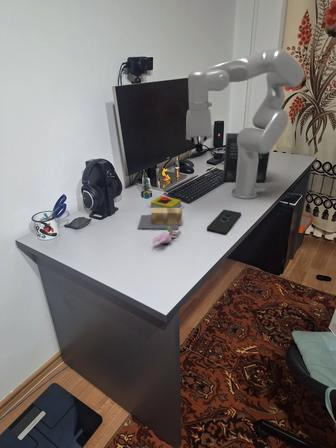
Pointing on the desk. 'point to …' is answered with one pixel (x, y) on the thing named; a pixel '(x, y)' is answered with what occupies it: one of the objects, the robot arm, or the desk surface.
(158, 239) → the pink creature figurine
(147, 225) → the charcoal mat
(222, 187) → the desk surface
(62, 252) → the desk surface
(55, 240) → the desk surface
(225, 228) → the smart home device
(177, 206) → the emergency button
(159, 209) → the oak block
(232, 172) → the headset box
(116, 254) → the desk surface
